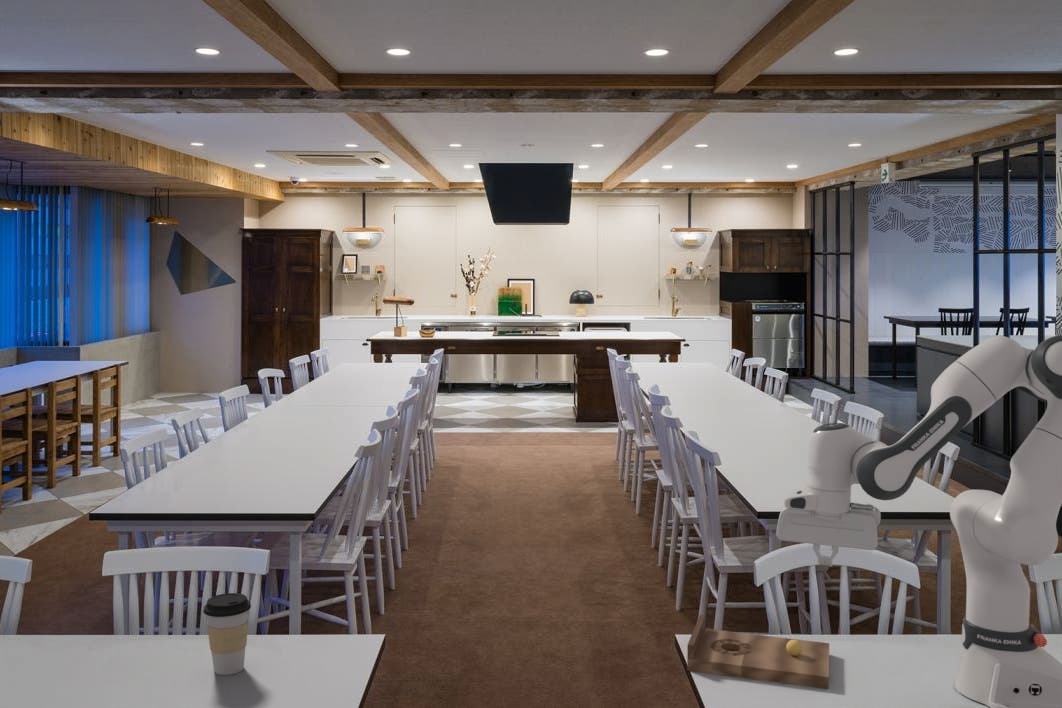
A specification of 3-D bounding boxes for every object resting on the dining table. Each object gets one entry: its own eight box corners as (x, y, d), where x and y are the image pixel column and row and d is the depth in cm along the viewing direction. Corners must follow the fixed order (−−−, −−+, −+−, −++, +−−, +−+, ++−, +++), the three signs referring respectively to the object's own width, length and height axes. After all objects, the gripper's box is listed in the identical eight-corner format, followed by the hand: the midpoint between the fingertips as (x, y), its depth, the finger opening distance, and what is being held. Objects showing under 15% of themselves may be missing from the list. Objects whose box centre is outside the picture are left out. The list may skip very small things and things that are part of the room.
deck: (829, 654, 197) (829, 629, 196) (828, 689, 180) (829, 662, 179) (699, 638, 206) (699, 615, 205) (687, 670, 189) (687, 644, 188)
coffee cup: (233, 681, 183) (231, 609, 182) (194, 675, 186) (193, 604, 185) (261, 663, 192) (260, 594, 191) (224, 657, 195) (222, 589, 194)
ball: (802, 653, 191) (802, 638, 191) (801, 659, 188) (802, 644, 188) (786, 651, 192) (786, 636, 192) (785, 657, 189) (786, 642, 189)
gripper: (880, 502, 189) (877, 567, 190) (779, 492, 195) (776, 555, 196) (881, 509, 183) (878, 576, 184) (777, 498, 190) (774, 563, 191)
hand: (824, 565), depth 190 cm, fingers closed
